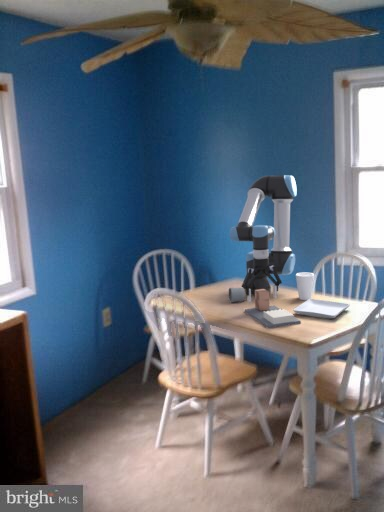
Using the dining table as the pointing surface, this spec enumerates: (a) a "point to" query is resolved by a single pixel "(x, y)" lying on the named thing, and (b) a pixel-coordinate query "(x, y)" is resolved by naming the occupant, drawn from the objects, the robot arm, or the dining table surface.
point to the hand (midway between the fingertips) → (262, 299)
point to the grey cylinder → (237, 294)
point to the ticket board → (265, 322)
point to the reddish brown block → (262, 299)
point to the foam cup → (305, 285)
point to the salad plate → (321, 308)
